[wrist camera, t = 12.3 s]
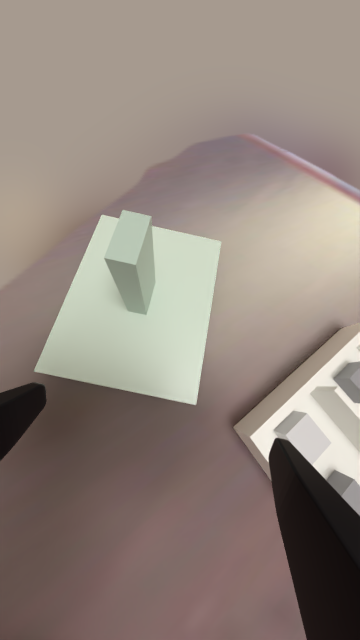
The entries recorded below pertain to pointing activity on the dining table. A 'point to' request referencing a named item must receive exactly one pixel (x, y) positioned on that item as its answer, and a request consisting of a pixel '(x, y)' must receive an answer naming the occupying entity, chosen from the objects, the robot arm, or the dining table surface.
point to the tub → (316, 415)
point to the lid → (136, 311)
